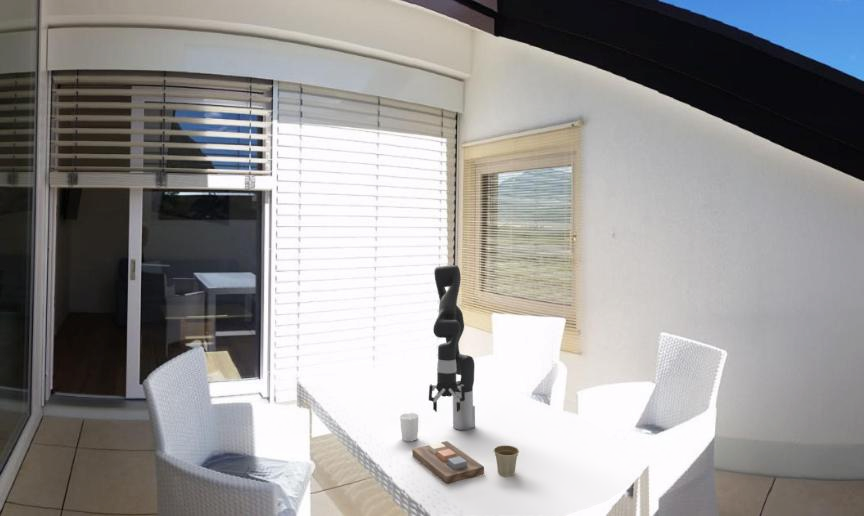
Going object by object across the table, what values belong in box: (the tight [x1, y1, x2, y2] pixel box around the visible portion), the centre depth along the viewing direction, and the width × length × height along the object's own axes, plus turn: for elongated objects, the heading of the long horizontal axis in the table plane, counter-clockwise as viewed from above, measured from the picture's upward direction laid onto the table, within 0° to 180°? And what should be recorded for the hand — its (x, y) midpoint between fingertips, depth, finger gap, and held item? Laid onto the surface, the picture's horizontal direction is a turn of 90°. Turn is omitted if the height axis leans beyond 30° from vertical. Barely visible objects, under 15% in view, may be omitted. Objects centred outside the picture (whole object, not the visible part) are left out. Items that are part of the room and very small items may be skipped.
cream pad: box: [427, 441, 446, 454], centre depth 224 cm, size 5×5×3 cm
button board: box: [411, 440, 485, 486], centre depth 217 cm, size 16×28×3 cm, turn 28°
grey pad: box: [448, 456, 467, 470], centre depth 210 cm, size 5×5×3 cm
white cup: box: [399, 412, 419, 442], centre depth 244 cm, size 8×8×10 cm
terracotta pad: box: [438, 449, 456, 462], centre depth 217 cm, size 5×5×3 cm
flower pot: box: [493, 444, 520, 477], centre depth 209 cm, size 9×9×9 cm
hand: (446, 411), depth 222 cm, fingers open, 8 cm apart
